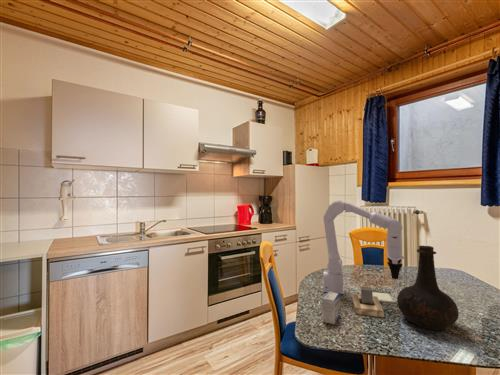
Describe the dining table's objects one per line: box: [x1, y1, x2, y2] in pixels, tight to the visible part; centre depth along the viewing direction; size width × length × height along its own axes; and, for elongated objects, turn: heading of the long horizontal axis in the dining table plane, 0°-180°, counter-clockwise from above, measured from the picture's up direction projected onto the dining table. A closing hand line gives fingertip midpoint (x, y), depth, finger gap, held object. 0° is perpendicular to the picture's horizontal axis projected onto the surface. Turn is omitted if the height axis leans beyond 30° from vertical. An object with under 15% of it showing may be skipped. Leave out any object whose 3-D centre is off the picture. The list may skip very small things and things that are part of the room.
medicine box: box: [321, 292, 340, 325], centre depth 93 cm, size 8×4×9 cm, turn 148°
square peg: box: [360, 286, 373, 305], centre depth 102 cm, size 4×4×8 cm
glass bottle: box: [396, 245, 460, 331], centre depth 90 cm, size 18×18×28 cm
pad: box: [372, 291, 394, 304], centre depth 112 cm, size 9×9×1 cm
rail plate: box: [351, 293, 385, 318], centre depth 102 cm, size 10×14×2 cm
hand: (394, 276), depth 111 cm, fingers open, 7 cm apart
